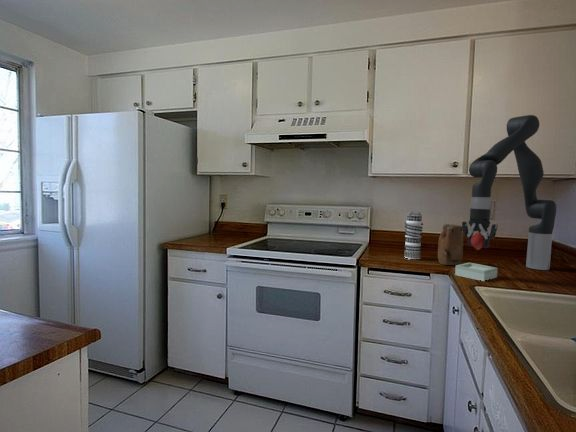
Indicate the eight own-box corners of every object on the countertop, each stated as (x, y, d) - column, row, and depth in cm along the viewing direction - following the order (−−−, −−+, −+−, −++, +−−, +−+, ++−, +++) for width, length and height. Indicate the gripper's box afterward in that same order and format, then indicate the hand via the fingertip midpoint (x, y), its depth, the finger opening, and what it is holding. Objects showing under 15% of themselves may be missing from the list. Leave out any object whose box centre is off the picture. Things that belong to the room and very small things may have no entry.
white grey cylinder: (409, 255, 191) (412, 211, 189) (424, 258, 183) (427, 212, 181) (399, 257, 185) (401, 211, 183) (414, 260, 178) (417, 213, 176)
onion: (467, 249, 148) (468, 231, 147) (474, 248, 151) (475, 230, 150) (481, 251, 143) (482, 232, 142) (487, 250, 146) (489, 231, 146)
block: (452, 262, 176) (454, 223, 174) (463, 265, 169) (466, 225, 167) (434, 263, 173) (437, 224, 171) (445, 266, 166) (448, 225, 164)
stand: (468, 271, 156) (469, 262, 156) (496, 277, 147) (497, 267, 146) (455, 274, 149) (455, 265, 149) (483, 281, 140) (484, 271, 139)
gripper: (502, 208, 142) (499, 248, 143) (467, 206, 153) (465, 243, 155) (494, 209, 138) (491, 250, 139) (459, 207, 149) (456, 245, 150)
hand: (477, 246), depth 147 cm, fingers closed on onion, 6 cm apart
